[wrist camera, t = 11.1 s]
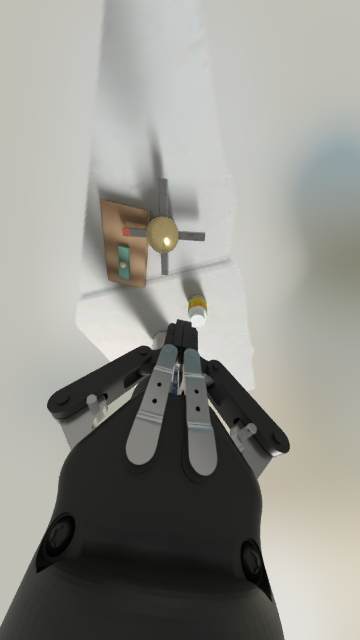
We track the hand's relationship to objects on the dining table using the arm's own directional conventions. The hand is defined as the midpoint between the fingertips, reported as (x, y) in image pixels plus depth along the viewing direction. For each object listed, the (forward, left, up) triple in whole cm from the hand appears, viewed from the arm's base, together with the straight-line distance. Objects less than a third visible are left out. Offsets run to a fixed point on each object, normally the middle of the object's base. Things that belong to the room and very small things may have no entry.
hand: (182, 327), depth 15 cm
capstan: (+4, +7, -29) cm, 30 cm away
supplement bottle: (-13, -5, -29) cm, 32 cm away
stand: (-2, +16, -29) cm, 33 cm away
